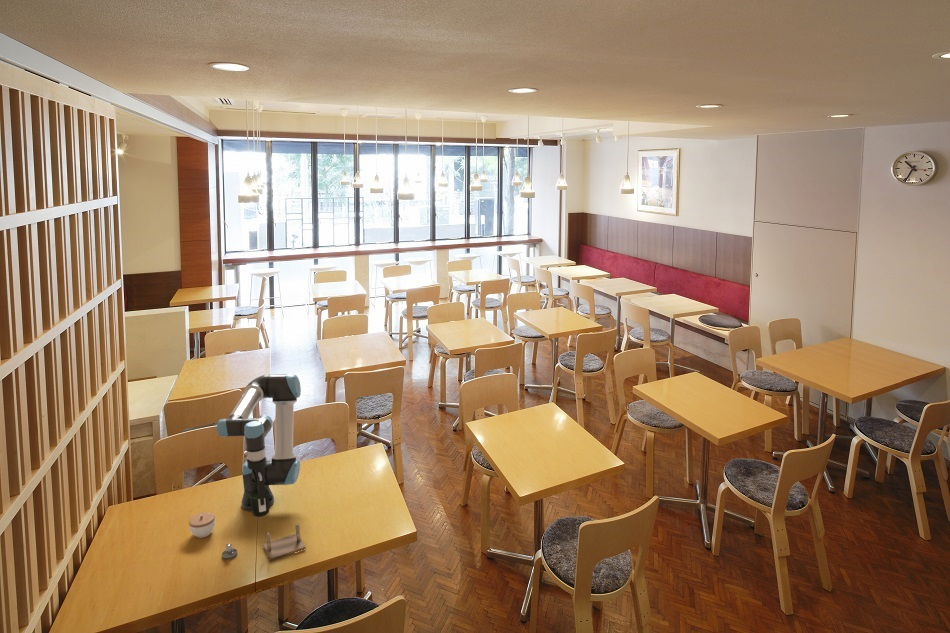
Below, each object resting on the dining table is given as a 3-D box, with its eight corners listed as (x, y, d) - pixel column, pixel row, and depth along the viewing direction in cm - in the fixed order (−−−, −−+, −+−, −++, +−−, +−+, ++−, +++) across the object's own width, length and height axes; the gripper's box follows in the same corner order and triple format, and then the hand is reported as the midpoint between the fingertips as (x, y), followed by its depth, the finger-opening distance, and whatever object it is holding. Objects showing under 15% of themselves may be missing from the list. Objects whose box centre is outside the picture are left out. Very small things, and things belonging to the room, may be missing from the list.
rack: (263, 547, 255) (261, 527, 253) (297, 536, 263) (296, 517, 261) (270, 561, 246) (268, 541, 243) (305, 549, 253) (304, 530, 251)
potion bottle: (255, 507, 256) (252, 470, 252) (273, 508, 256) (270, 470, 252) (247, 517, 248) (244, 479, 244) (266, 518, 248) (262, 480, 244)
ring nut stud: (221, 553, 251) (219, 543, 250) (235, 549, 254) (234, 539, 253) (223, 561, 246) (222, 550, 245) (238, 556, 249) (237, 546, 248)
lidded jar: (191, 543, 258) (188, 524, 256) (190, 530, 267) (187, 512, 265) (217, 536, 263) (215, 518, 261) (215, 524, 272) (213, 506, 270)
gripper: (242, 450, 253) (247, 497, 258) (251, 469, 236) (256, 520, 241) (260, 446, 257) (264, 493, 262) (270, 465, 240) (274, 515, 244)
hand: (260, 506), depth 251 cm, fingers closed on potion bottle, 8 cm apart
